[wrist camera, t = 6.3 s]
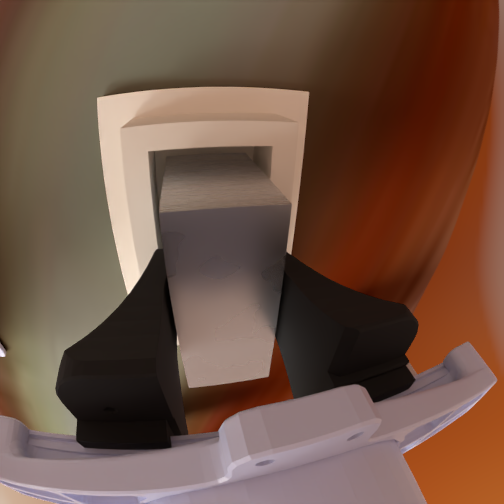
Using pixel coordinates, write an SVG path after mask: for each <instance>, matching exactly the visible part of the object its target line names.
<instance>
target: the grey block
mask: <svg viewBox="0 0 504 504" xmlns="http://www.w3.org/2000/svg"><path fill="white" fill-rule="evenodd" d="M291 209H292V204H291V203H290V201H289V200H288V199H287V198H286V197H285V196H284V195H283V193H282V192H281V191H280V190H279V189H278V188H277V187H276V186H275V185H274V183H273V182H272V181H271V180H270V179H269V178H268V177H267V176H266V175H265V174H264V172H263V171H262V170H261V169H260V168H259V167H258V166H257V165H256V164H255V163H254V162H253V161H252V159H251V158H250V157H249V156H248V155H247V154H246V153H213V154H193V155H178V156H166V163H165V170H164V177H163V184H162V191H161V199H160V208H159V218H160V227H161V236H162V244H163V251H164V259H165V266H166V273H167V279H168V286H169V292H170V298H171V304H172V309H173V315H174V320H175V326H176V331H177V336H178V341H179V346H180V351H181V355H182V360H183V365H184V369H185V373H186V378H187V382H188V386H189V388H194V387H203V386H211V385H219V384H226V383H233V382H240V381H246V380H252V379H258V378H264V377H269V371H270V364H271V358H272V352H273V345H274V338H275V332H276V325H277V318H278V311H279V304H280V297H281V290H282V282H283V275H284V267H285V259H286V251H287V243H288V235H289V226H290V217H291Z"/></svg>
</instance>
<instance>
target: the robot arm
mask: <svg viewBox="0 0 504 504" xmlns="http://www.w3.org/2000/svg"><path fill="white" fill-rule="evenodd" d="M417 330H418V321H417V319H416V318H415V317H414V316H413V314H412V313H411V312H410V311H409V309H408V308H407V307H406V306H405V305H404V304H399V303H395V302H390V301H386V300H382V299H378V298H375V297H372V296H368V295H365V294H363V293H360V292H357V291H355V290H352V289H350V288H347V287H345V286H343V285H340V284H338V283H336V282H334V281H332V280H330V279H328V278H326V277H324V276H323V275H321V274H319V273H318V272H316V271H314V270H313V269H311V268H310V267H308V266H306V265H305V264H303V263H302V262H300V261H299V260H298V259H296V258H295V257H293V256H292V255H291V254H289V253H288V252H287V251H286V259H285V267H284V275H283V282H282V290H281V297H280V304H279V311H278V318H277V325H276V332H275V337H276V340H277V342H278V345H279V348H280V351H281V354H282V357H283V361H284V364H285V367H286V371H287V374H288V378H289V382H290V385H291V389H292V393H293V397H294V399H292V400H288V401H283V402H278V403H274V404H269V405H264V406H259V407H255V408H252V409H248V410H245V411H241V412H238V413H237V414H235V415H233V416H231V417H229V418H228V419H226V420H225V421H224V422H223V424H222V425H221V427H220V429H219V431H218V432H211V433H202V434H193V435H188V430H187V425H186V419H185V413H184V407H183V400H182V393H181V386H180V378H179V369H178V360H177V331H176V326H175V320H174V315H173V309H172V304H171V298H170V292H169V286H168V279H167V273H166V266H165V259H164V251H163V249H156V250H155V252H154V254H153V256H152V258H151V260H150V262H149V263H148V265H147V267H146V269H145V270H144V272H143V274H142V275H141V277H140V279H139V280H138V282H137V283H136V284H135V286H134V287H133V289H132V290H131V292H130V293H129V294H128V296H127V297H126V298H125V300H124V301H123V302H122V303H121V304H120V306H119V307H118V308H117V309H116V310H115V311H114V312H113V313H112V314H111V315H110V316H109V317H108V318H107V319H106V320H105V321H104V322H103V323H102V324H100V325H99V326H98V327H97V328H96V329H95V330H93V331H92V332H91V333H89V334H88V335H87V336H86V337H84V338H83V339H81V340H80V341H78V342H77V343H75V344H74V345H72V346H71V347H69V348H68V349H66V350H65V351H64V355H63V357H62V360H61V363H60V367H59V372H58V377H57V382H56V388H55V389H56V394H57V396H58V397H59V399H60V400H61V402H62V403H63V404H64V405H65V406H66V407H67V409H68V410H69V411H70V412H71V413H72V414H73V415H74V416H75V417H76V419H77V431H76V436H74V435H63V434H55V433H47V432H40V431H33V430H29V429H28V428H27V427H26V426H25V425H24V424H23V423H22V422H20V421H19V420H17V419H14V418H11V417H6V416H1V415H0V483H2V484H3V485H6V486H7V487H9V488H11V489H13V490H15V491H17V492H19V493H21V494H24V495H27V496H30V497H34V498H37V499H41V500H46V501H49V502H53V503H57V504H427V503H426V501H425V499H424V497H423V494H422V493H421V490H420V488H419V487H418V485H417V482H416V480H415V478H414V476H413V474H412V472H411V470H410V469H409V466H408V464H407V463H406V461H405V459H404V457H403V455H402V454H403V453H405V452H407V451H408V450H410V449H412V448H413V447H415V446H417V445H418V444H420V443H422V442H423V441H425V440H426V439H428V438H429V437H431V436H433V435H434V434H435V433H437V432H439V431H440V430H442V429H443V428H444V427H446V426H448V425H449V424H450V423H452V422H453V421H455V420H456V419H458V418H459V417H460V416H462V415H463V414H464V413H466V412H467V411H468V410H469V409H470V408H471V407H473V405H475V404H476V403H477V402H478V401H479V400H480V399H481V398H482V397H483V396H484V394H485V393H486V392H487V391H488V390H489V389H490V388H491V387H492V386H493V385H494V384H495V383H496V382H497V378H496V377H495V375H494V374H493V373H492V371H491V370H490V369H489V367H488V366H487V365H486V363H485V362H484V361H483V359H482V358H481V357H480V355H479V354H478V353H477V352H476V350H475V349H474V348H473V347H472V345H471V344H470V343H469V342H466V343H464V344H462V345H460V346H458V347H456V348H454V349H453V350H452V351H451V352H450V353H449V354H448V355H447V356H446V358H445V359H444V361H443V363H441V364H439V365H437V366H435V367H433V368H431V369H429V370H427V371H425V372H422V373H420V374H418V375H416V376H413V375H412V373H411V372H410V370H409V369H408V367H407V366H406V365H408V363H409V360H408V358H407V357H406V355H405V353H406V352H407V350H408V348H409V347H410V345H411V343H412V342H413V340H414V338H415V336H416V334H417ZM5 356H6V351H5V349H4V348H3V346H2V345H1V343H0V357H5Z"/></svg>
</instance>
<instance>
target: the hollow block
mask: <svg viewBox="0 0 504 504" xmlns="http://www.w3.org/2000/svg"><path fill="white" fill-rule="evenodd" d="M308 100H309V92H305V91H297V90H286V89H273V88H255V87H189V88H171V89H158V90H148V91H138V92H130V93H123V94H116V95H109V96H103V97H98V98H97V108H98V124H99V137H100V148H101V157H102V166H103V173H104V181H105V188H106V194H107V201H108V207H109V212H110V218H111V223H112V229H113V234H114V239H115V243H116V248H117V252H118V257H119V261H120V265H121V270H122V274H123V278H124V282H125V285H126V289H127V293H128V294H129V293H130V292H131V290H132V289H133V287H134V286H135V284H136V283H137V282H138V280H139V279H140V277H141V275H142V274H143V272H144V270H145V269H146V267H147V265H148V263H149V262H150V260H151V258H152V256H153V254H154V252H155V250H156V249H163V244H162V236H161V227H160V218H159V208H160V199H161V191H162V184H163V177H164V170H165V163H166V156H178V155H193V154H213V153H246V154H247V155H248V156H249V157H250V158H251V159H252V161H253V162H254V163H255V164H256V165H257V166H258V167H259V168H260V169H261V170H262V171H263V172H264V174H265V175H266V176H267V177H268V178H269V179H270V180H271V181H272V182H273V183H274V185H275V186H276V187H277V188H278V189H279V190H280V191H281V192H282V193H283V195H284V196H285V197H286V198H287V199H288V200H289V201H290V203H291V204H292V209H291V217H290V226H289V235H288V243H287V252H288V253H289V254H291V252H292V245H293V237H294V230H295V222H296V214H297V206H298V198H299V189H300V181H301V172H302V162H303V153H304V143H305V133H306V122H307V111H308ZM177 345H179V341H178V336H177Z"/></svg>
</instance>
